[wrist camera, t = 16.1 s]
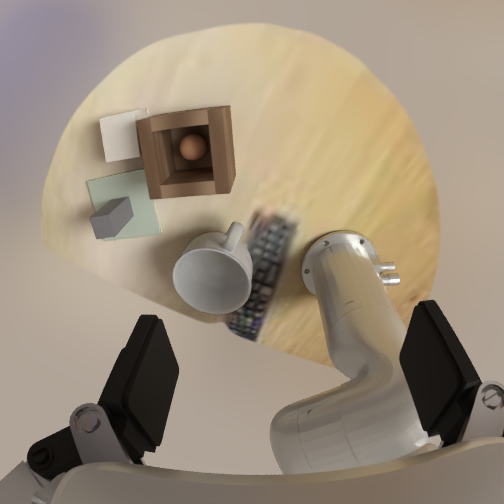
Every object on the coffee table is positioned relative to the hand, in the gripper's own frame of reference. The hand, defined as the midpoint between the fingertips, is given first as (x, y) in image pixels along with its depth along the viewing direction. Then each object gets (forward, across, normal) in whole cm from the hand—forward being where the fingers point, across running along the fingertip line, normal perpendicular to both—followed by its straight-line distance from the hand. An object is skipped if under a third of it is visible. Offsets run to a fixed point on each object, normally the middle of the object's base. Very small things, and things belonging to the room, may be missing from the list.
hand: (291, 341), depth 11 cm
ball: (+32, +10, -3) cm, 33 cm away
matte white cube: (+33, +19, -6) cm, 38 cm away
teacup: (+33, +8, +13) cm, 37 cm away
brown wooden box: (+33, +10, -3) cm, 34 cm away
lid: (+33, +23, +5) cm, 41 cm away
